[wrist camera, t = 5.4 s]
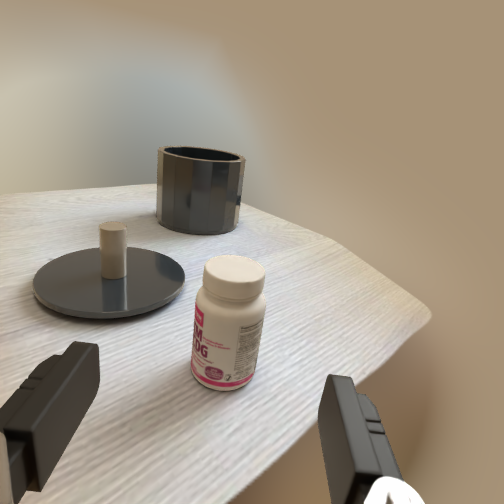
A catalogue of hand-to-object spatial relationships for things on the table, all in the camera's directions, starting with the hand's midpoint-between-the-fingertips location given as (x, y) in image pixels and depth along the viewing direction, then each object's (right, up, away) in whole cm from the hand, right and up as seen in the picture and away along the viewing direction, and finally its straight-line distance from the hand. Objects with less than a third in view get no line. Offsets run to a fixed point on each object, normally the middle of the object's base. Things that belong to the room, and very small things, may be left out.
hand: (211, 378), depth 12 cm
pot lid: (-12, +2, +23) cm, 26 cm away
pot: (-7, +9, +44) cm, 46 cm away
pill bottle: (-1, -4, +14) cm, 15 cm away
